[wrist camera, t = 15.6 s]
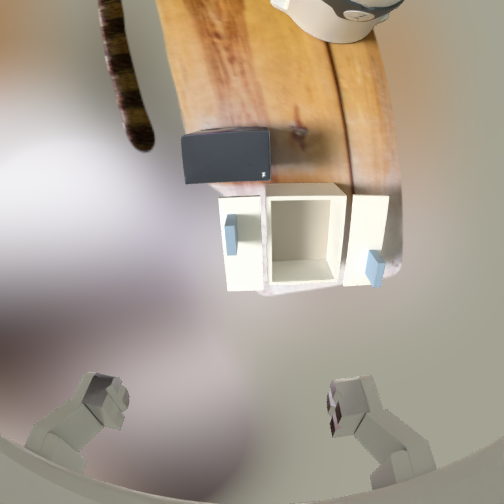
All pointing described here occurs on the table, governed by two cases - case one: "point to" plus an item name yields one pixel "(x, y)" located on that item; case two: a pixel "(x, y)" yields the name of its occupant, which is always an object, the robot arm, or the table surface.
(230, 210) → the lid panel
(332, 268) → the carton
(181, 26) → the table surface
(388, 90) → the table surface
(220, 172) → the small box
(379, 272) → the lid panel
